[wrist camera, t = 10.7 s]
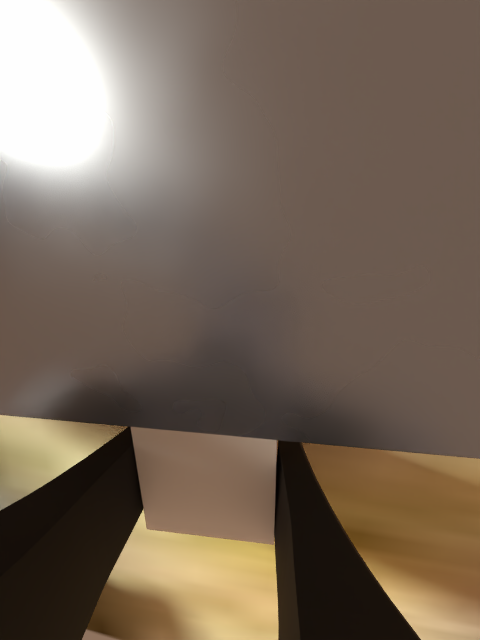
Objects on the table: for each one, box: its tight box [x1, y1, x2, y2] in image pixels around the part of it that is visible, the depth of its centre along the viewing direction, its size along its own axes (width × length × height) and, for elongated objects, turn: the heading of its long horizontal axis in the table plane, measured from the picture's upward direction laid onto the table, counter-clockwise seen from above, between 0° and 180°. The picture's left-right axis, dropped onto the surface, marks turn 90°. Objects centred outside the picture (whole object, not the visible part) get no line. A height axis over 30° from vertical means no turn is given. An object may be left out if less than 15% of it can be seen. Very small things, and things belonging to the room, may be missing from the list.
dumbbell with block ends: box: [131, 427, 277, 545], centre depth 8 cm, size 4×16×3 cm, turn 1°
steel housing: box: [0, 0, 480, 459], centre depth 6 cm, size 13×6×5 cm, turn 90°
